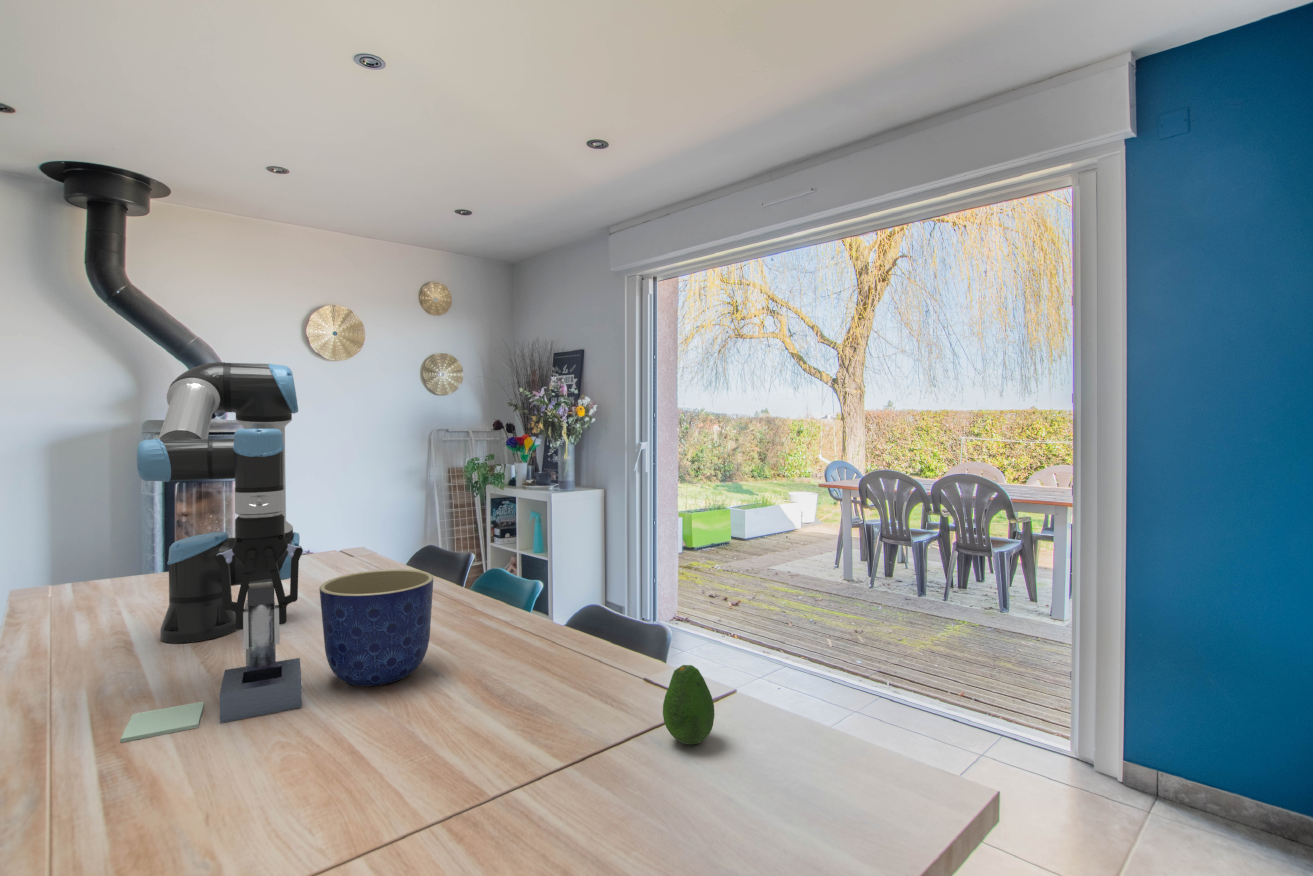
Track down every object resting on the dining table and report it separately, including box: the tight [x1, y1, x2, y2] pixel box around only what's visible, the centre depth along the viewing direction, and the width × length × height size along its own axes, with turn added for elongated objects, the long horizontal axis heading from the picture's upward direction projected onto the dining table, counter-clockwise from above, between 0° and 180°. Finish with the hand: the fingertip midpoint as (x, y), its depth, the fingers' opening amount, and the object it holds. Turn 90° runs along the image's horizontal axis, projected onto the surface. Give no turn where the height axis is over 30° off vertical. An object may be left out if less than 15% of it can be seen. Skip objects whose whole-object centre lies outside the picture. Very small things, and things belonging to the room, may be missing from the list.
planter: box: [318, 568, 434, 687], centre depth 128 cm, size 21×21×19 cm
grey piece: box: [246, 581, 276, 667], centre depth 115 cm, size 4×4×14 cm
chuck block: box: [218, 657, 303, 724], centre depth 116 cm, size 12×12×5 cm
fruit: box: [662, 664, 715, 745], centre depth 101 cm, size 8×8×12 cm
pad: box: [119, 701, 205, 743], centre depth 108 cm, size 10×10×1 cm
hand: (262, 644), depth 116 cm, fingers closed on grey piece, 4 cm apart
